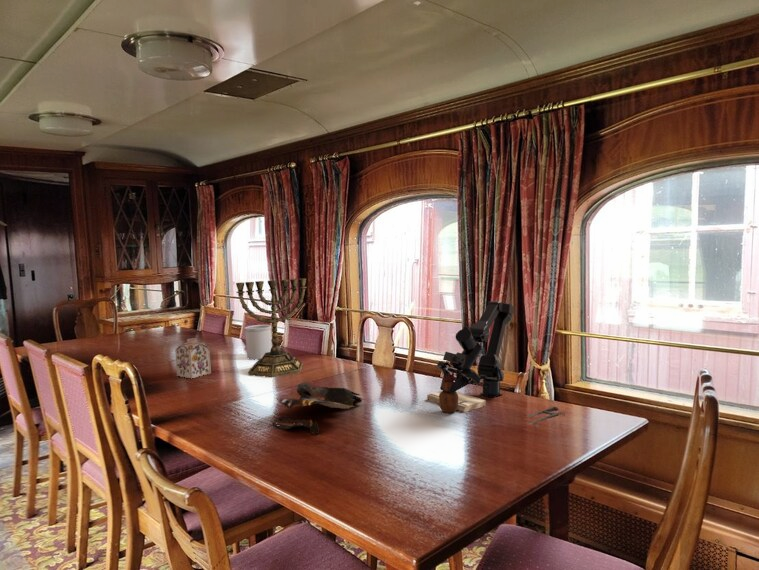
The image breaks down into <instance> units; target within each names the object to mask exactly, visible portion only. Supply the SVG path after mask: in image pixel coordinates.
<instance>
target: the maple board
mask: <svg viewBox="0 0 759 570" xmlns="http://www.w3.org/2000/svg"><path fill="white" fill-rule="evenodd" d="M441 391H442V390H440V391H436V392H432V393H429V394H427V395H426V400H427V399H429V400H428V401H430V400H431V401H430V402H433V401H434V402H433V403H436V402H437V403H436V404H439V405H440V403H439V395H440V393H441ZM456 392H457V394H458V406H457V410H456V411H460V412H462V413H466V412H469V411H472V410H477V409H479V408H483V406H484V407H486V406H487V400H486V399H482V398H479V397H476V396H472V395H470V394H469V395H468V394H465V393H462V392H458V391H456Z"/></svg>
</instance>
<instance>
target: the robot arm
mask: <svg viewBox="0 0 759 570" xmlns="http://www.w3.org/2000/svg"><path fill="white" fill-rule="evenodd" d="M514 313H515V307H514V305H512V303H509V302H501V301H495V300H493V301H492V300H491V301H488V303H487V306H486V308H485V309H484V311H483V313H482V315H481V316H480V318H479V319H478V320H477V322H475V323H473V324H471V325H470V326H463V328H462V329H460V330H458V331H457V332H456V333H455V339H456V341H457V343H458V345H459V346H460V347H461V349H463V350H462V351H461V352H456V353H452V352H450V351H445V352H444V355H443V357H442V360H440V361H438V362H437V364H436V367H437V368H438V369H439V370H440V371H441V372H442V380H441V383H440V391H443V390H442V387H441V385H442V382H443V379H444V377H445V379H446V375H447V377H448V373H449V372H450V377H451V375H452V372H453V370H454V375H456V376H455V377H456V378H455V377H454V383H453V385H452V387H451V389H450V391H449V393H450V394H452V393H454V392H455V391H456V392H458V391H459V390H461V389H462V388H464V387H466V386H468V385H471V383H472V384H474V385H476V386H477V385H478V386H479V383H480V382H481V380H482V392H480V393H479V394H480V395H481V396H484V395H485V397H488V396H489V398H491V397H493V398H495V397H496V396H497V397H499V396H498V395H500V396H503V395H504V394H503V393H502V392H501V390H500V389H501V387H500V384H501V382H504V378H505V373H504V371H503V369H502V368H501V367H502V363H501V362H500V359H499V356H500V351H501V348H502V343H503V338H504V334H505V331H506V326H507V324H509V323H510V322H511V321H512V318H513V315H514ZM491 327H492V329H491V333H490V328H491ZM486 343H488V345H487V350H486V353H485V354H484V352H485V351H484V347H483V345H480V344H486ZM479 356H480V358H479V363H478V365H477V372H476V371H475V370H474V369H473V368H472V367H474V368H475V367H476V363H475V362H476V360H477V359H478V357H479ZM501 393H502V394H503V395H502V394H501ZM497 397H496V398H497Z"/></svg>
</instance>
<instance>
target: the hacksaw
mask: <svg viewBox="0 0 759 570" xmlns="http://www.w3.org/2000/svg"><path fill="white" fill-rule="evenodd" d="M559 409H560V408H559V407H558V406H551V407H549V408H547V409H544V410H542V411H538V412H535V413H532V414H528V415H526V416H525V417H527V418H528V417H529V418H532V417H534V416H537V415H538V416H539V415H542V414H548V415H546V416H544V417H541V418H539V419H536V420H534V421H531V422H529V423H528V424H529V425H532V426H533V430H535V429H536V428H537V427H536V426H535V425H536V424H538V423H539V422H541V421H544V420H547V418H548V419H551V418H553V417H557V416H559V415H560V414H563V416H565V415H566V413H565V412H562V411H560V412H556V411H558V410H559ZM553 410H555V412H553ZM549 411H550V412H549ZM524 423H527V422H525V421H524Z"/></svg>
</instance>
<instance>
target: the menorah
mask: <svg viewBox="0 0 759 570" xmlns="http://www.w3.org/2000/svg"><path fill="white" fill-rule="evenodd" d="M264 282H265V281H264V280H257V281H255V282H254V281H245V282H236V283H235V286H236V288H237V291H236V294H237V295H238V298H239V302H240V304H241V308H242V309H244V310H245V312H246V313H247V315H249V317H251V318H253V319H255V320H257V321H258V322H263V323H268V324H269V323H270V324H271V337H272V339H271V342H272V348H271V350H270V352H267V353H265V354H264V356H263V357H262V358H261V359H258V360H257V361H256V362H255V363H254V364H253V365H252V366H251V368H250V369H249V371H248V373H247V374H248V376H253V375H255V376H254V377H263V376H265V378H272V377H273V378H278V377H282V376H283V375H284V376H290V375H295V374H300V373H301V372H302V370H301V369H303V367H302V366H304V364H303V362H302V361H301V360H299V359H298V358H297V357H295V356H292V355H291V354H290V353H289V352H288V351H283V350H281V348H280V346H279V345H278V344H279V343H280V339H279V337H278V334H279V333H278V328H277V327H278V323H279V322H282V321H284V320H287V319H290V318H291V316H293V315H294V314H295V313H297V312H298V310H299V308H300V306H301V305H302V304H303V302H304V297H305V291H306V289H307V286H306V283H307V278H293V279H292V278H291V279H280V283H281V285H282V288H281V290H282V292H283V293H282V295H281V296H280V298H279V299H278V300H277V301H276V297H275V295H276V291H278V290H277V288H276V286H277V284H278V280H272V279H271V280H267V284H268V287H269V289H268V291H270V294H271V299H270V301H271V302H270V301H268V300H267V299H266V297H264V296H263V292H264V291H265V289H263V287H264ZM289 282H290V285H291V287H290V288H289V287H288V286H289ZM298 283H299V287H298ZM254 284H255V286H256V288H257V289H256V290H253V289H254ZM245 286H246V290H244V287H245ZM298 289H300V295H299V298H298V299H297V303H296V304H295V306H294V307H293V308H292V310H291V311H289V313H286V314H285V315H283V316H281V317H278V315H277V314H279V313H281V312H283V311H286V310H287V309H288V308H289V307H290V306H291V305H292V304H293V303H294V300H295V297H296V295H297V291H298ZM288 290H291V291H292V292H291V297H290V299H288V302H287V303H286V304H285V305H284V306H282V307H281V308H279V309H277V305H280V304H281V303H283V302H284V301H285V300H286V297H287V295H288V294H287V293H288ZM255 292H257V295H258V297H259V299H260V302H261V303H263V304H264V305H267V306H270V310H268V309H265V308H263V307H261V306H260V305H258V302H256V301H255V298H254V296H253V295H254V294H253V293H255ZM244 293H247V296H248V299H249V301H250V302H251V305H252V306H253V307H254V308H255V309H257V310H258V311H259V312H260V313H264V314H269V315H271V316H270V318H264V317H262V316H259V315H257V314H255V312H254V311H252V310H251V309H250V308H249V307H248V304H247V303H246V302H245V300H244ZM277 376H278V377H277ZM284 376H283V377H284Z"/></svg>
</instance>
